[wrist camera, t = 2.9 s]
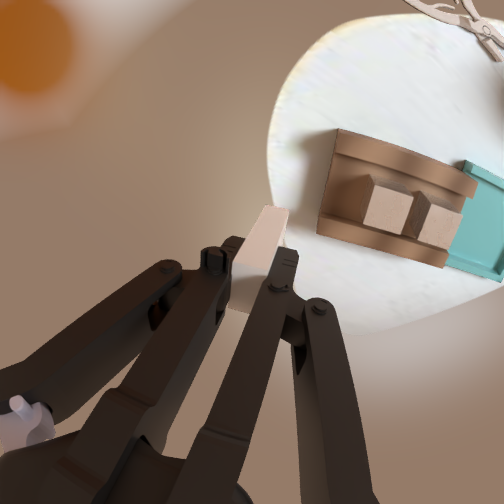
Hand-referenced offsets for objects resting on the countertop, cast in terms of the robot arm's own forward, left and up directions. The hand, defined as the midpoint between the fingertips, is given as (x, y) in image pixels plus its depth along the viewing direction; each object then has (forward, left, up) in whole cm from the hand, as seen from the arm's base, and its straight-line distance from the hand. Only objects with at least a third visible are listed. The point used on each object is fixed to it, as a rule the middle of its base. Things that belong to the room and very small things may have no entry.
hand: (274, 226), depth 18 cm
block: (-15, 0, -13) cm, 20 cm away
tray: (-26, 0, -16) cm, 30 cm away
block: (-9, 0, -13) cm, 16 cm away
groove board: (-11, 0, -16) cm, 19 cm away
